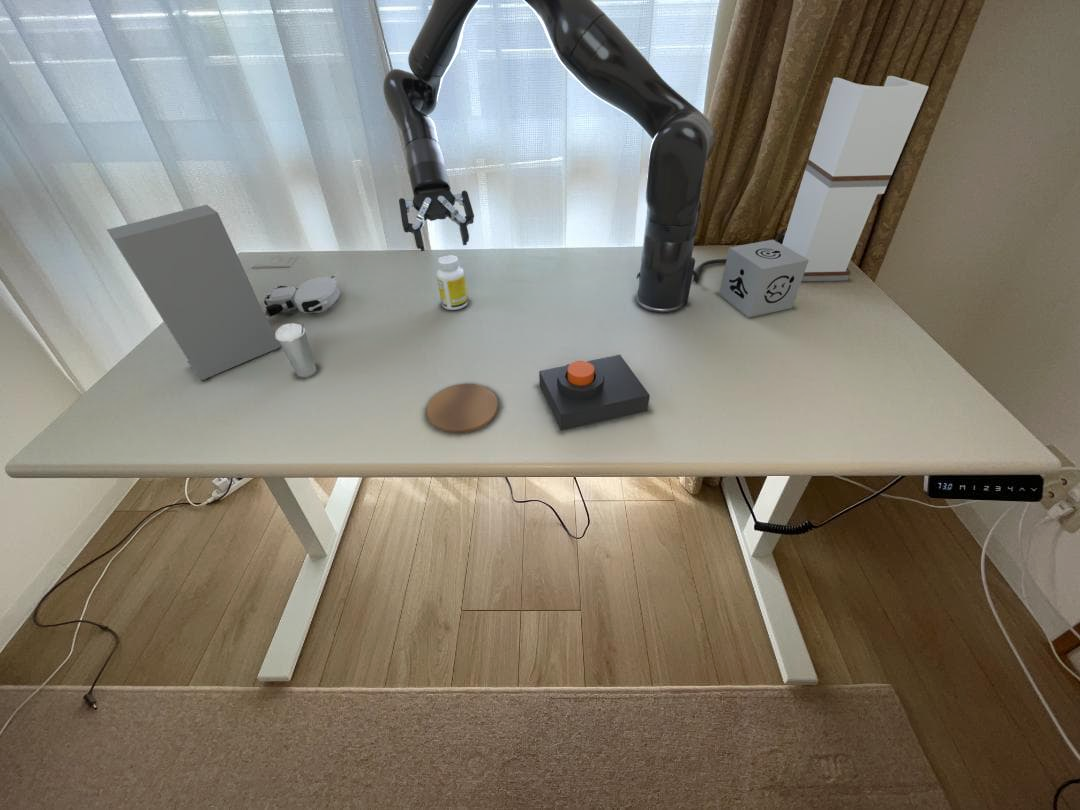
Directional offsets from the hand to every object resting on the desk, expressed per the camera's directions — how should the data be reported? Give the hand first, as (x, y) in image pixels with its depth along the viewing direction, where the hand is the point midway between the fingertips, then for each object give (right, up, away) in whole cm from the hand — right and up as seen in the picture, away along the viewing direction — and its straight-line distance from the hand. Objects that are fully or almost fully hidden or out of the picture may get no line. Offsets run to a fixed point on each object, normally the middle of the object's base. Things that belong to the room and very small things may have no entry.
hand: (444, 246), depth 98 cm
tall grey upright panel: (-36, -23, -9) cm, 44 cm away
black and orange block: (+27, -31, -21) cm, 46 cm away
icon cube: (+63, -11, +1) cm, 64 cm away
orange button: (+25, -28, -24) cm, 45 cm away
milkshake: (-21, -26, -13) cm, 36 cm away
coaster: (+7, -32, -22) cm, 39 cm away
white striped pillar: (+79, -2, +11) cm, 80 cm away
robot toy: (-30, -12, +4) cm, 32 cm away
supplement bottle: (+2, -11, +3) cm, 12 cm away
